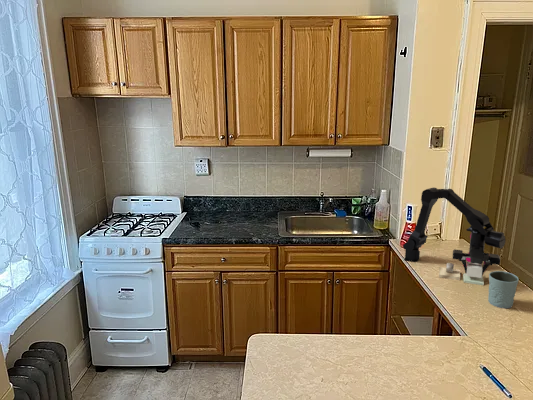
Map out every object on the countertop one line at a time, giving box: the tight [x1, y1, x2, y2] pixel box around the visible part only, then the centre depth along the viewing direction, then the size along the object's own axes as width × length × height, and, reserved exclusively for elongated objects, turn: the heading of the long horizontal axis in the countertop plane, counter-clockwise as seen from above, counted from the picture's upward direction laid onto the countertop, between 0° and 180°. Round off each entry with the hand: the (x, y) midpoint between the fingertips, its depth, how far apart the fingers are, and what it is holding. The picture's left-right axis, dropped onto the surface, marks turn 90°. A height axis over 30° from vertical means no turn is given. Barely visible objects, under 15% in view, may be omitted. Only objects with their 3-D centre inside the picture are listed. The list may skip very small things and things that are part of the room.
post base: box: [438, 262, 461, 281], centre depth 184 cm, size 9×9×6 cm
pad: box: [462, 272, 485, 286], centre depth 179 cm, size 8×8×1 cm
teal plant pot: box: [487, 270, 520, 309], centre depth 157 cm, size 10×10×12 cm
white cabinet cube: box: [465, 261, 483, 278], centre depth 178 cm, size 6×6×5 cm
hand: (473, 274), depth 179 cm, fingers closed on white cabinet cube, 6 cm apart
